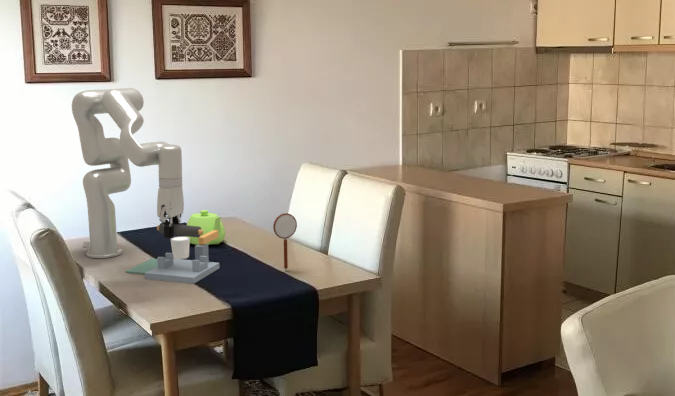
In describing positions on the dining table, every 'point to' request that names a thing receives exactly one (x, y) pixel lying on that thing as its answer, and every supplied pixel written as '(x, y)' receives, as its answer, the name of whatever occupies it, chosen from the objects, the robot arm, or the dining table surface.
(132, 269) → the mat
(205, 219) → the teapot
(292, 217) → the magnifying glass
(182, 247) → the white cup
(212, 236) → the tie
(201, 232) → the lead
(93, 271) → the dining table surface
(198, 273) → the grey cradle stand
